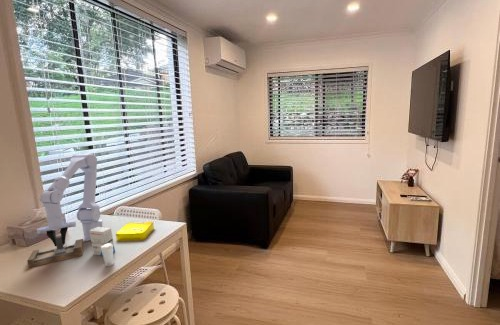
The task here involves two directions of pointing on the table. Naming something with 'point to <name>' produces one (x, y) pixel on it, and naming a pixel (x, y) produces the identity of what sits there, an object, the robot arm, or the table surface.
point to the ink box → (100, 239)
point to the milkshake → (107, 254)
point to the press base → (49, 255)
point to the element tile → (135, 231)
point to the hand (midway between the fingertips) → (60, 244)
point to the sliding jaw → (60, 246)
